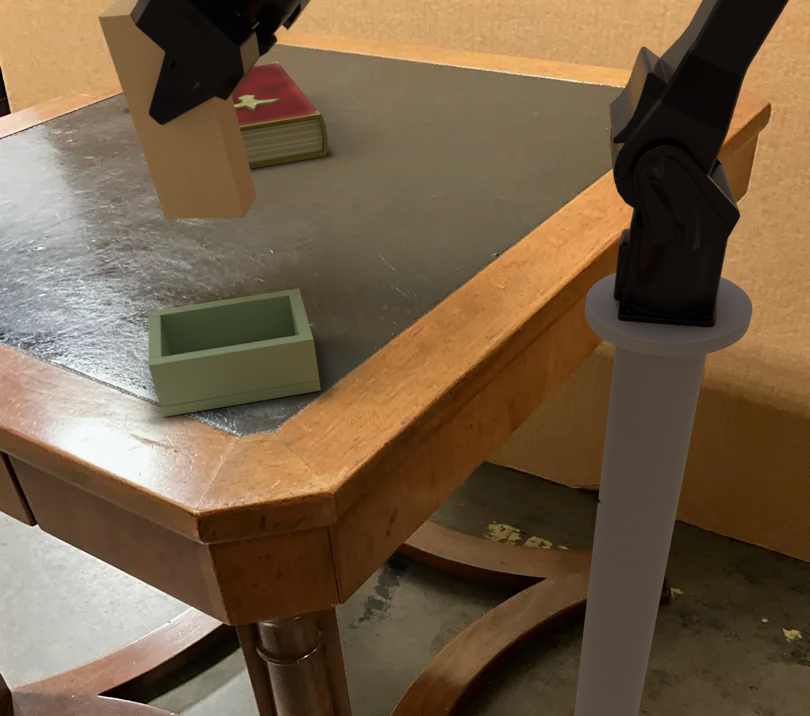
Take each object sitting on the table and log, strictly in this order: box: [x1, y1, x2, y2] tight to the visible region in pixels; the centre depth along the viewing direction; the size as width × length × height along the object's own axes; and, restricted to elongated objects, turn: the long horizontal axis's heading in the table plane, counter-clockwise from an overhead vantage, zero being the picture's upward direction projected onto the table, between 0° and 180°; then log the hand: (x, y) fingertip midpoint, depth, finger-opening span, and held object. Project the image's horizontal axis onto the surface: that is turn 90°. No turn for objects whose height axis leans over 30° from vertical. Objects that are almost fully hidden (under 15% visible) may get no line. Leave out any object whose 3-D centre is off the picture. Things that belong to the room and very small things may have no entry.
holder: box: [147, 287, 322, 418], centre depth 58 cm, size 7×10×4 cm
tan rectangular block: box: [97, 0, 258, 220], centre depth 59 cm, size 3×6×13 cm, turn 79°
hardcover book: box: [232, 61, 329, 170], centre depth 95 cm, size 12×21×4 cm, turn 18°
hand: (164, 110), depth 59 cm, fingers closed on tan rectangular block, 3 cm apart
